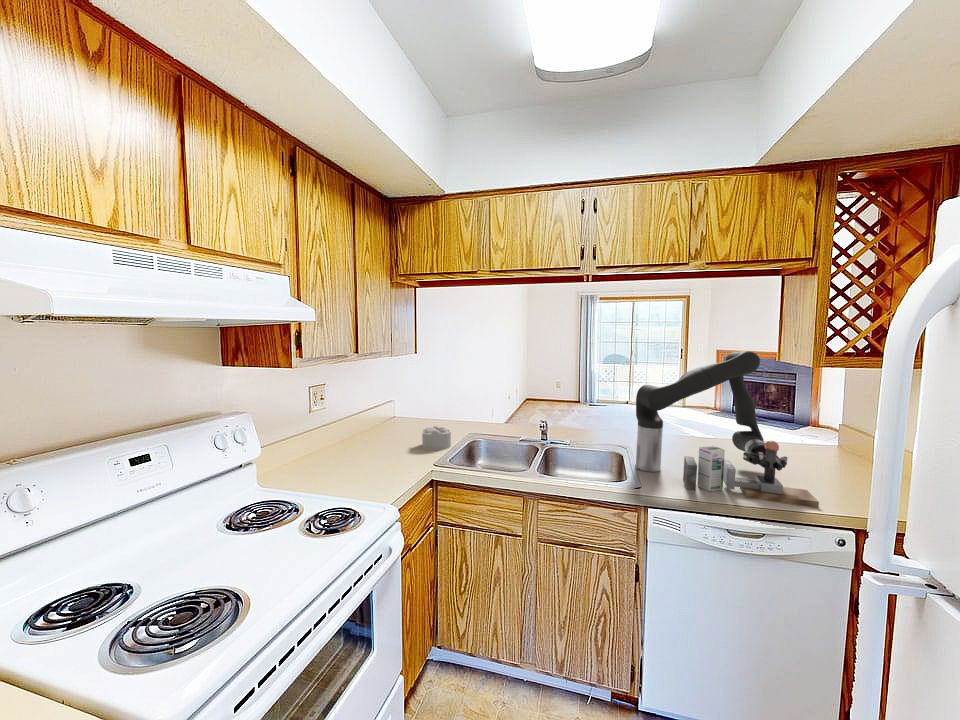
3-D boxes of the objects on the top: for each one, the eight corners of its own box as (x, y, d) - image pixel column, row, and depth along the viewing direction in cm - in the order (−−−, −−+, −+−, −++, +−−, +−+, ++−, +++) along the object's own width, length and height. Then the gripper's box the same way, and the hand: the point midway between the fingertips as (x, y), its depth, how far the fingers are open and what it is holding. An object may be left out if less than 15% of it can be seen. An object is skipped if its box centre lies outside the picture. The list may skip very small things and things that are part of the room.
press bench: (686, 489, 146) (687, 464, 145) (683, 479, 155) (684, 455, 154) (818, 507, 132) (821, 480, 131) (806, 495, 142) (808, 469, 141)
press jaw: (727, 488, 141) (730, 440, 139) (721, 478, 150) (725, 433, 149) (783, 496, 135) (787, 446, 134) (774, 484, 145) (778, 438, 143)
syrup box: (709, 491, 144) (712, 451, 142) (696, 485, 150) (698, 446, 148) (722, 490, 145) (725, 449, 144) (709, 483, 151) (712, 444, 150)
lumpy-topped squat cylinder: (423, 443, 197) (422, 425, 196) (450, 442, 198) (450, 425, 197) (422, 450, 186) (421, 431, 186) (451, 449, 188) (451, 430, 187)
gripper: (737, 439, 156) (749, 453, 140) (782, 443, 151) (799, 458, 135) (736, 459, 156) (747, 475, 140) (780, 464, 152) (797, 481, 135)
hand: (773, 466), depth 138 cm, fingers closed on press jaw, 3 cm apart
